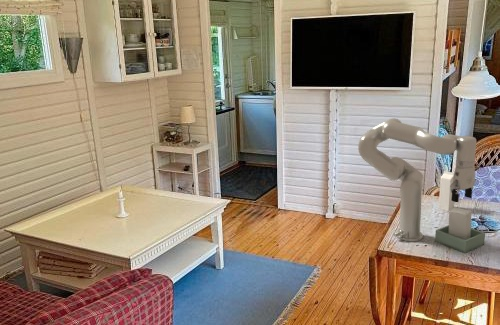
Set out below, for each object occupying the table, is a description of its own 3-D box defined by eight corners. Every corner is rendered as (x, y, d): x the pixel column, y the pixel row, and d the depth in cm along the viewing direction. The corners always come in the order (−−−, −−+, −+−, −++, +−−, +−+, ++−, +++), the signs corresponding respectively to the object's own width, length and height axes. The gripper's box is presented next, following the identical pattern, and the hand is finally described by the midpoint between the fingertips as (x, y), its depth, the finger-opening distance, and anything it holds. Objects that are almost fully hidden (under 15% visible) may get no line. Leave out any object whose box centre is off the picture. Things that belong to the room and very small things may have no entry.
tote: (464, 253, 201) (465, 241, 200) (435, 241, 214) (435, 230, 213) (484, 244, 208) (485, 233, 207) (454, 233, 221) (455, 222, 220)
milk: (448, 211, 249) (450, 174, 243) (438, 208, 254) (440, 171, 248) (454, 208, 253) (456, 171, 247) (444, 206, 258) (446, 169, 252)
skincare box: (470, 241, 210) (473, 210, 206) (465, 246, 206) (468, 214, 202) (452, 236, 216) (454, 206, 212) (447, 241, 212) (449, 210, 208)
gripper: (460, 168, 194) (457, 205, 199) (484, 162, 202) (480, 197, 207) (445, 165, 200) (442, 201, 205) (469, 158, 209) (465, 193, 213)
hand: (461, 199), depth 206 cm, fingers open, 9 cm apart
